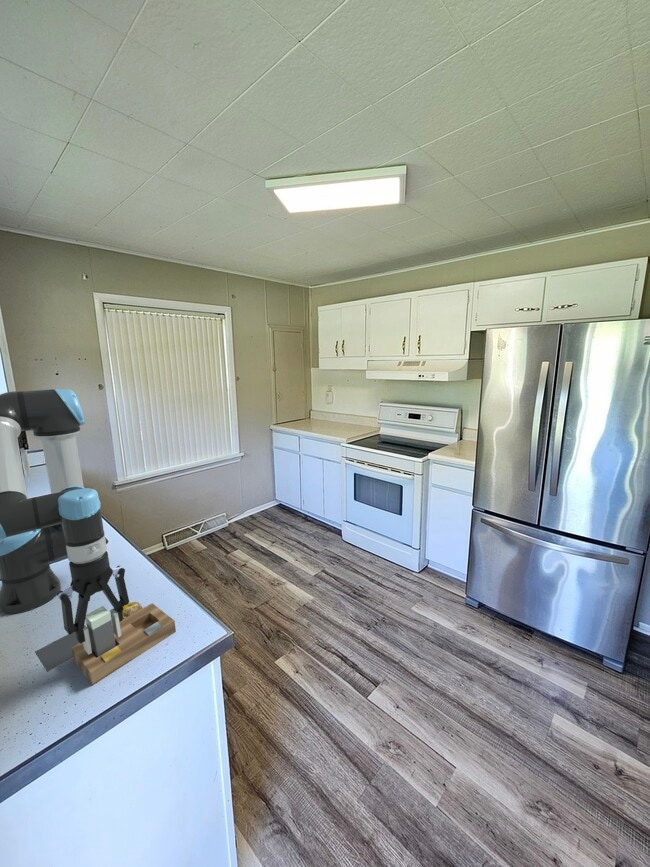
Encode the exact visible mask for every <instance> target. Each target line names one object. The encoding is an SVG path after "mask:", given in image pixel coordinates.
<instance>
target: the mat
mask: <svg viewBox="0 0 650 867" xmlns="http://www.w3.org/2000/svg"><path fill="white" fill-rule="evenodd" d="M77 644H79V641H78V640H77V637H76V632H73V633H72V634H68V633H67V634H66V635H64V636H62V637H60V638H59V639H56V640H55V641H53V642H50V643H49V644H46V645H45V646H42V647H41V648H39V649H37V650H35V651H34V652H35V654H36V656H37V657H38V659H39V660H40V662H41V664H42V665H43V667H44V669H45V670H46V672H49V671H51V670H53V669H55V668H57V667H58V666H61V665H62V664H63V663H66V662H67V661H69V660H71V659H73V654H72V649H71V647H73V646H75V645H77Z"/></svg>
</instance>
